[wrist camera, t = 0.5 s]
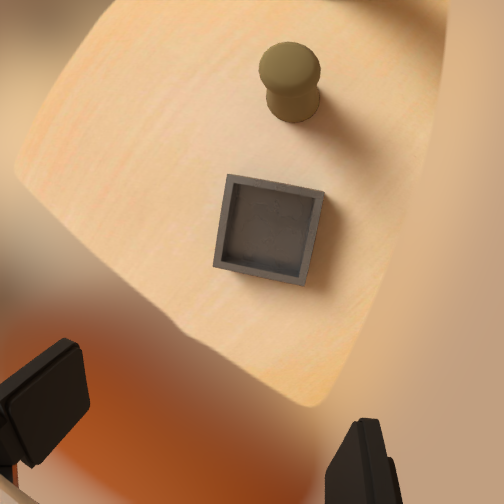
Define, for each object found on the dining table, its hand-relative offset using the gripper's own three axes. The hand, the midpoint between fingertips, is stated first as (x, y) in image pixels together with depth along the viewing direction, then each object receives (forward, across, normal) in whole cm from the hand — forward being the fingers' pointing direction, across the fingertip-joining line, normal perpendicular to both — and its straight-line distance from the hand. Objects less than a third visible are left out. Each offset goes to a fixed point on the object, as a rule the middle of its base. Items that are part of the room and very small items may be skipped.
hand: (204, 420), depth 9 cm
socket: (+28, +1, -2) cm, 28 cm away
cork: (+28, +1, -17) cm, 33 cm away
